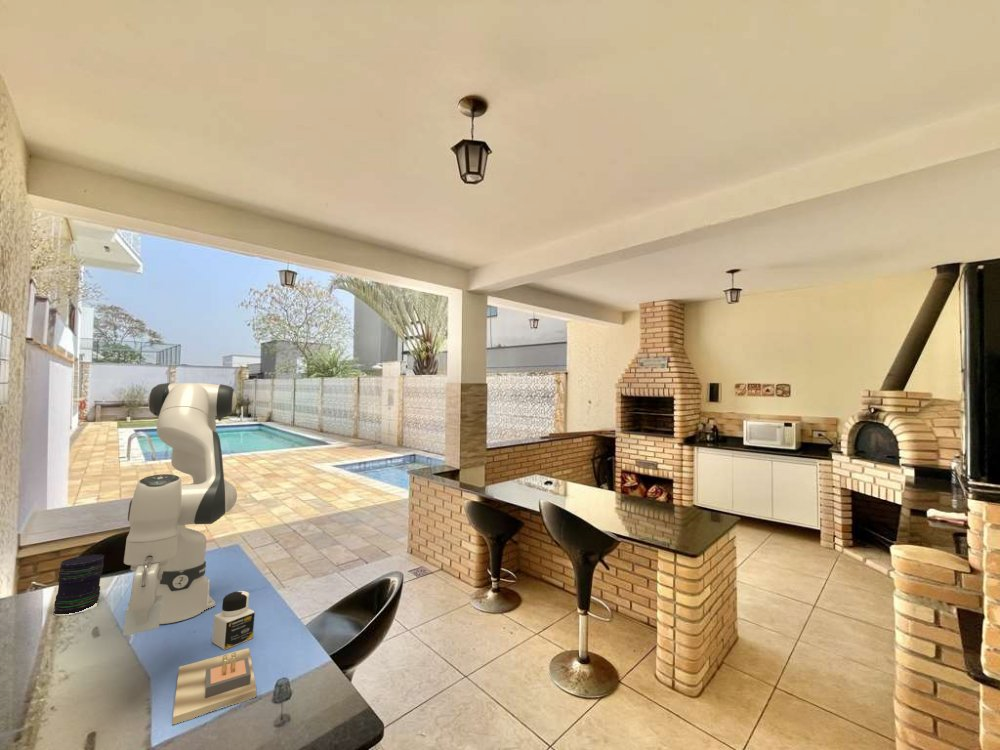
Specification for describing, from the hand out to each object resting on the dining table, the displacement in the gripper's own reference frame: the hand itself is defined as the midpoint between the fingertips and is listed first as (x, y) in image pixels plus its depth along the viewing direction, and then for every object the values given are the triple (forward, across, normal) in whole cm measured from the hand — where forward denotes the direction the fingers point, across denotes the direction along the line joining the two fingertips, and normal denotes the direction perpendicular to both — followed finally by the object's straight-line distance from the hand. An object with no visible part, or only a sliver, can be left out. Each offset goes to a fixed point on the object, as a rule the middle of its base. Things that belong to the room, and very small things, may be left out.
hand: (144, 616), depth 87 cm
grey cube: (+2, 0, 0) cm, 2 cm away
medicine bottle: (+17, +16, -18) cm, 29 cm away
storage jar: (+17, +66, +21) cm, 71 cm away
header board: (+16, -4, -14) cm, 22 cm away
